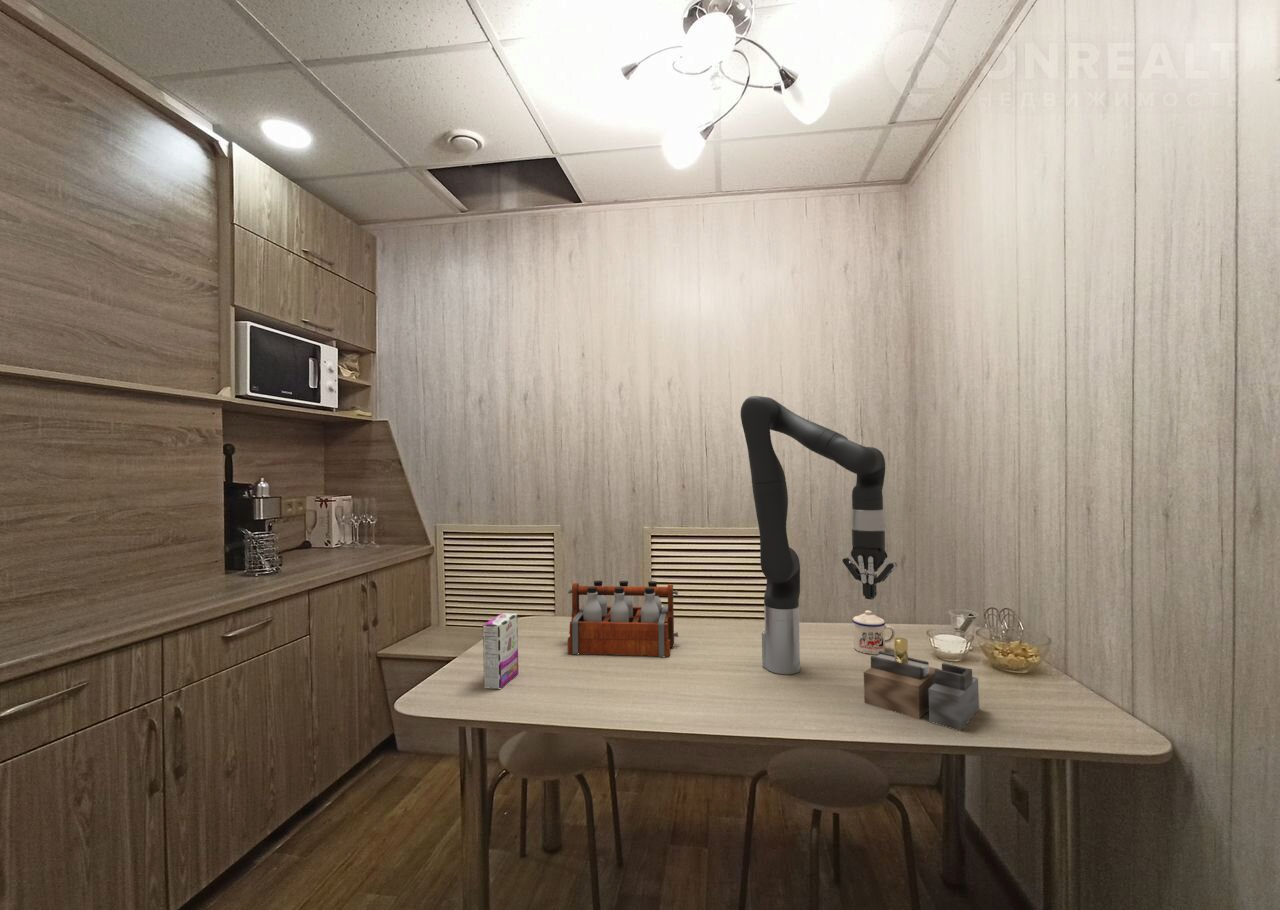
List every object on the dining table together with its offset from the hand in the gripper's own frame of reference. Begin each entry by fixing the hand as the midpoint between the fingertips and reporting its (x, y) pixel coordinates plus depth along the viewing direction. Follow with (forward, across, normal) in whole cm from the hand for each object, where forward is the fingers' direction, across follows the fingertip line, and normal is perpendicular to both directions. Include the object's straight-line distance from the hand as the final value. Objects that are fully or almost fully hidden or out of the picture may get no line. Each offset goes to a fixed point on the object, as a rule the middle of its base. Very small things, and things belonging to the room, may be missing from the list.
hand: (869, 598), depth 132 cm
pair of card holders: (+23, +12, 0) cm, 26 cm away
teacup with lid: (+23, -12, +31) cm, 40 cm away
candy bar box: (+23, -73, -59) cm, 97 cm away
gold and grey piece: (+16, +6, 0) cm, 17 cm away
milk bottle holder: (+23, -71, -17) cm, 77 cm away
